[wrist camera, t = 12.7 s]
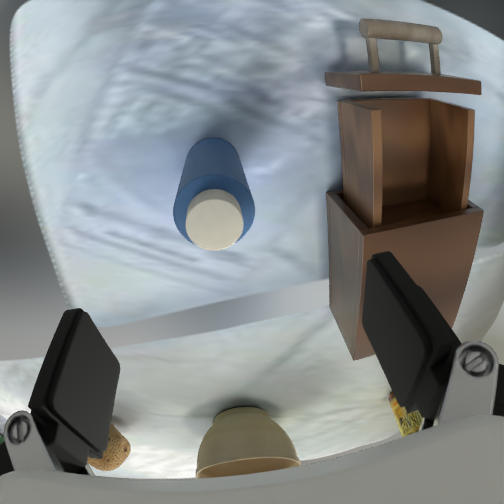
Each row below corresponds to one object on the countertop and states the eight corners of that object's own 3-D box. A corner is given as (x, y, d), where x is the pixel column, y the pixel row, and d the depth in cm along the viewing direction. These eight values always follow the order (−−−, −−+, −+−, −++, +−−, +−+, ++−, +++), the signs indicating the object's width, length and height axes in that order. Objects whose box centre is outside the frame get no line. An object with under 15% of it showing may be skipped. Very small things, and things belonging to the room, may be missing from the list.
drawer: (317, 24, 20) (350, 11, 14) (429, 31, 20) (477, 30, 15) (335, 216, 30) (364, 253, 24) (431, 199, 30) (469, 229, 24)
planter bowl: (180, 429, 49) (181, 483, 40) (218, 385, 43) (224, 453, 34) (258, 442, 55) (265, 490, 46) (307, 402, 48) (322, 458, 39)
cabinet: (325, 191, 29) (363, 235, 22) (432, 176, 29) (484, 210, 22) (329, 306, 37) (353, 361, 30) (418, 283, 37) (452, 327, 30)
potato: (139, 421, 47) (135, 471, 39) (123, 437, 50) (119, 481, 42) (90, 403, 43) (81, 455, 35) (79, 421, 47) (71, 466, 38)
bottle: (180, 144, 25) (159, 194, 15) (234, 132, 25) (251, 175, 15) (192, 193, 28) (183, 270, 18) (243, 182, 28) (264, 254, 18)
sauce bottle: (412, 376, 50) (455, 464, 33) (417, 387, 53) (456, 468, 36) (382, 394, 51) (419, 484, 34) (389, 404, 54) (423, 486, 37)
